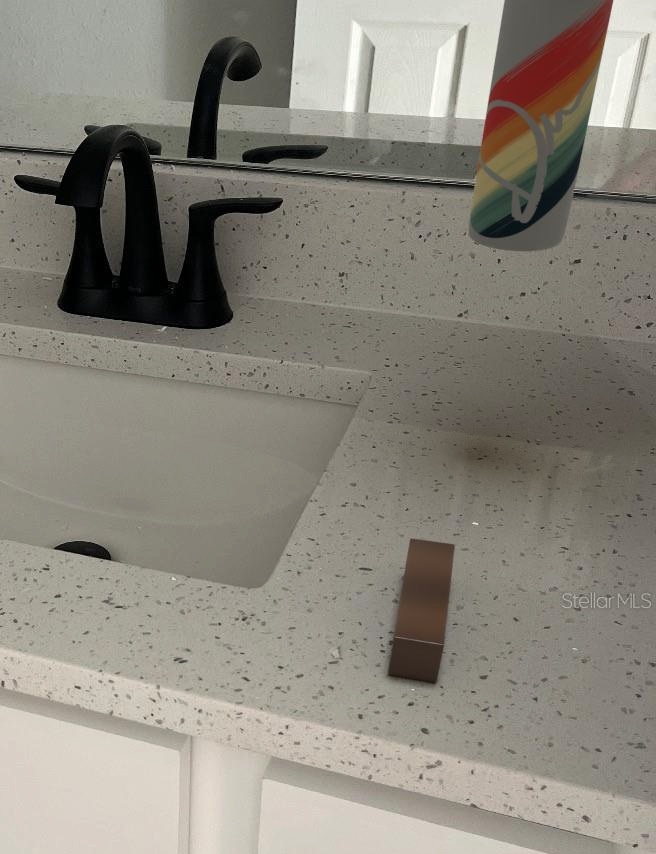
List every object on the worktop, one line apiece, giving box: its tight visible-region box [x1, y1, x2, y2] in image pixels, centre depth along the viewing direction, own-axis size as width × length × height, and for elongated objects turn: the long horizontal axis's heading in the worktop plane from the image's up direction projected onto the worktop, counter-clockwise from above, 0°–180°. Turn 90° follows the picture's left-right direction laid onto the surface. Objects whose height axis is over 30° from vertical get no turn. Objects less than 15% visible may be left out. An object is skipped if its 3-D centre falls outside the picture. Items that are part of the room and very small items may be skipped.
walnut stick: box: [387, 537, 456, 683], centre depth 66 cm, size 10×2×2 cm, turn 162°
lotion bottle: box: [468, 0, 614, 252], centre depth 68 cm, size 6×6×20 cm
